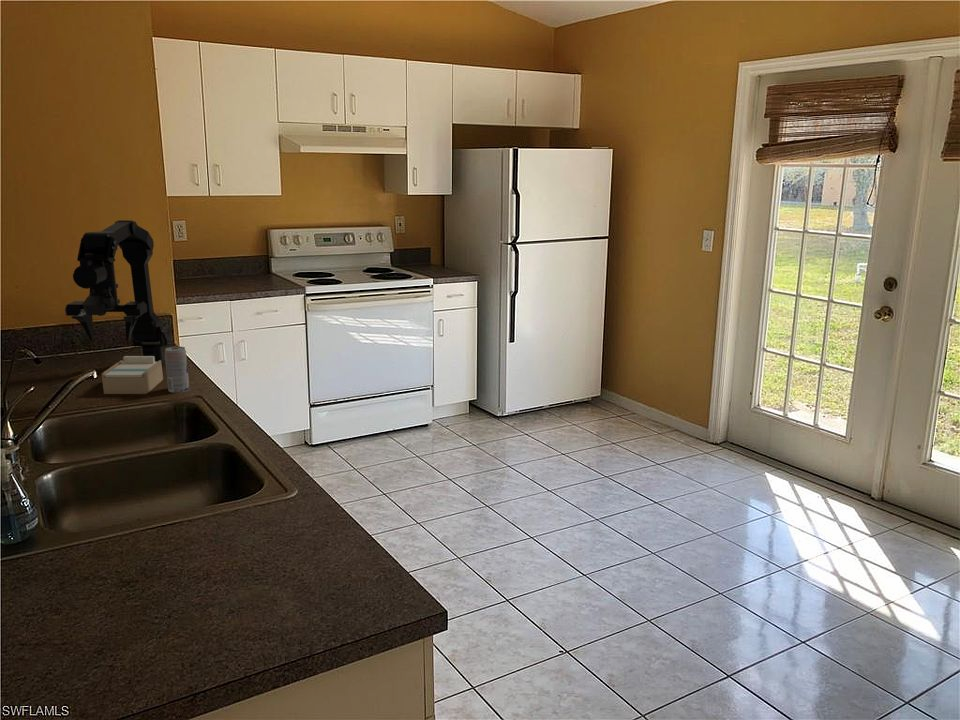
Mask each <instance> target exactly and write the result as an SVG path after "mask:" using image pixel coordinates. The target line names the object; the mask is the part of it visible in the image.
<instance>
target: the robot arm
mask: <svg viewBox="0 0 960 720" xmlns="http://www.w3.org/2000/svg"><path fill="white" fill-rule="evenodd" d="M154 246H155V242H154V239H153V238H152V236H151V234H150V232H149V231H148V230H146V229H144V228H142V227H141V226H139V225H138V223H137V222H136V221H134V220H132V219H131V220H129V219H128V220H127V219H125V220H124V219H122V220H121V219H119V220H117V221H116V220H115V222H114V223H112V224H111V225H110V226H108V227H106V228H104V229H103V230H100V231H87V232H85V233H84V234H83V235H82V237H81V240H80V243H79V247H78V248H79V249H78V253H77V259H76V260H77V262H79V266H77V267H76V268H75V269H74V271H73V274H72V278H73V282H74V283H75V284H76V286H78V287H80V288H81V289H85V290H87V289H89V295H88V296H87V297H86V298H85V300H77V301H76V300H73V301H71V302H70V303H68V304H66V305H65V307H64V314H65V316H66V317H68V316H69V317H70V318H71V319H74V320H76V321H77V322H79V323H80V325H81V327H82V328H83V330H84V332H85V333H86V335H87V337H88V339H89V340H90V342H94V340H95V331H94V322H93V321H94V319H93V316H98V317H102V316H105V315H106V314H107V313H123V314H124V315H125V316H123V317H122V318H123V321H124V322H125V340H126V341H127V342H130V341H131V340H132V343H133V347H134V348H136V347H140V348H141V356H154V358H155V362H158V361H159V360H161V364H162V367H163V366H164V365H166V362H165V359H164V357H163V356H164V355H163V347H165V346H168V345H169V336H168V334H167V332H166V330H165V329H164V328H163V326H162V325H163V324H162V320H161V319H160V317H159V316H158V315H157V314H156V312H155V311H154V304H153V303H154V302H153V295H152V287H151V286H152V285H151V278H150V270H149V262H150V261H151V258H152V257H153V254H154V253H153V250H154V248H155V247H154ZM118 247H119V248H120V250H121V253H122V257H123V258H124V260H125V261H126V262H127V263H128V265H130V272H131V273H130V274H131V281H132V282H131V283H132V290H133V296H134V298H133V299H134V301H132V300H131V301H129V302H126V303H125V304H121V300H120V298H118V288H119V284H118V283H117V281H116V280H117V279H116V273H115V272H116V271H115V263H114V262H116V258H115V257H116V252H117V251H118V250H119V248H118Z"/></svg>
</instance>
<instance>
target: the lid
mask: <svg viewBox="0 0 960 720" xmlns="http://www.w3.org/2000/svg"><path fill="white" fill-rule="evenodd" d="M122 360H123V363H121V364H120V365H118V366H117V367H116V368H114V369H112V370H111V371H110V372H108V373H107V374H106V375H105V377H143V373H144V372H145V371H146V370H148V369H149V368H150V367H151V366H153V365H154V364H155V363H157V362H155V358H154V356H142V355H124V356H123V357H122Z"/></svg>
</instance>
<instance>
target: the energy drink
mask: <svg viewBox="0 0 960 720" xmlns="http://www.w3.org/2000/svg"><path fill="white" fill-rule="evenodd" d="M164 360H165V362H166V363H165V369H166V370H165V371H166V379H167V382H166V383H167V390H168V392H170V393H172V394H173V393H177V394H179V393H184V392H188V391H189V390H190V379H189V371H188V359H187V350H186V348H185V346H169V347H166V348H165V350H164Z"/></svg>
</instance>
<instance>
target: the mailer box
mask: <svg viewBox="0 0 960 720" xmlns="http://www.w3.org/2000/svg"><path fill="white" fill-rule="evenodd" d="M123 362H124V360H123V359H122V360H121V359H120V360H119V361H118V362H116V363H114V365H112V366H110V367H109V368H108V369H106V370H104V371H103V372H101V379H102V388H103V394H104V395H147V394H148V393H150V392H151V391H152V390H154V388H155V387H156V386H157V385H159V384H160V383H161V382H162V381H164V376H163V368H162V367H163V366H162V364H161V360H159V361H158V362H157V363H155V364H154V365H153V366H151V367H150V368H149V369H148V370H146V371H145V372H144V373H143V377H105V375H106V374H107V373H108V372H110V371H111V370H112V369H114V368H116V367H117V366H118V365H120V364H121V363H123Z"/></svg>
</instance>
